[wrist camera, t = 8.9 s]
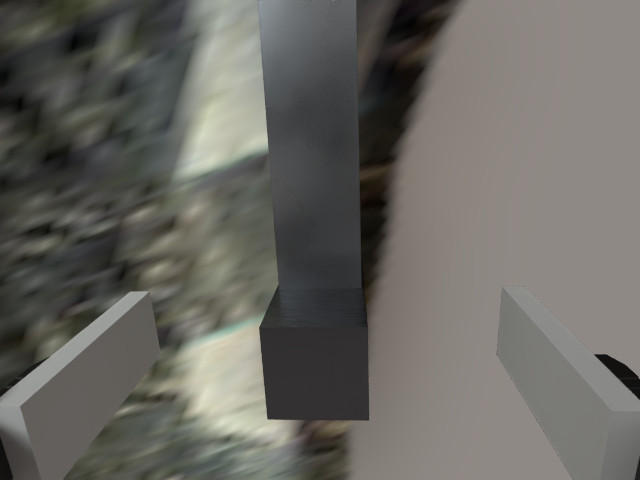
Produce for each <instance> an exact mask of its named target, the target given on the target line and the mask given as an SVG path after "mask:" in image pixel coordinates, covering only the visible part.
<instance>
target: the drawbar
mask: <svg viewBox="0 0 640 480" xmlns="http://www.w3.org/2000/svg"><path fill="white" fill-rule="evenodd" d="M258 12H259V26H260V39H261V53H262V66H263V80H264V93H265V106H266V120H267V133H268V147H269V160H270V174H271V187H272V201H273V214H274V228H275V241H276V255H277V268H278V282H279V285H278V287H277V289H276V291H275V294H274V296H273V298H272V300H271V303H270V305H269V307H268V309H267V311H266V314H265V316H264V318H263V320H262V323H261V325H260V327H259V330H260V341H261V352H262V364H263V375H264V386H265V397H266V408H267V419H276V420H369V383H368V325H367V313H366V302H365V290H364V278H363V266H362V255H361V232H360V179H359V126H358V73H357V19H356V0H258Z"/></svg>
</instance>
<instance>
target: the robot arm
mask: <svg viewBox="0 0 640 480" xmlns="http://www.w3.org/2000/svg"><path fill="white" fill-rule="evenodd" d="M160 355H161V354H160V348H159V343H158V337H157V331H156V325H155V319H154V314H153V308H152V302H151V296H150V291H149V292H130V293H128V294H127V295H126V296H125V297H123V298H122V299H121V300H120V301H118V302H117V303H116V304H115V305H114V306H112V307H111V308H110V309H109V310H107V311H106V312H105V313H104V314H102V315H101V316H100V317H99V318H97V319H96V320H95V321H94V322H92V323H91V324H90V325H89V326H88V327H86V328H85V329H84V330H83V331H81V332H80V333H79V334H78V335H76V336H75V337H74V338H73V339H71V340H70V341H69V342H68V343H67V344H65V345H64V346H63V347H62V348H60V349H59V350H58V351H57V352H55V353H54V354H53V355H52V356H50V357H48V358H46V359H44V360H42V361H40V362H38V363H36V364H35V365H33V366H31V367H30V368H28V369H27V370H26V371H25V372H23V373H22V374H21V375H20V376H18V379H15V380H13V381H12V382H11V383H9V384H8V385H7V387H6V388H3V389H2V390H1V391H0V480H62V479H63V478H64V477H65V476H66V474H67V473H68V472H69V471H70V469H71V468H72V467H73V465H74V464H75V463H76V462H77V460H78V459H79V458H80V457H81V455H82V454H83V453H84V451H85V450H86V449H87V448H88V446H89V445H90V444H91V443H92V441H93V440H94V439H95V437H96V436H97V435H98V434H99V432H100V431H101V430H102V429H103V427H104V426H105V425H106V424H107V422H108V421H109V420H110V418H111V417H112V416H113V415H114V413H115V412H116V411H117V410H118V408H119V407H120V406H121V404H122V403H123V402H124V401H125V399H126V398H127V397H128V396H129V394H130V393H131V392H132V390H133V389H134V388H135V387H136V385H137V384H138V383H139V382H140V380H141V379H142V378H143V377H144V375H145V374H146V373H147V371H148V370H149V369H150V368H151V366H152V365H153V364H154V363H155V361H156V360H157V359H158V357H159V356H160ZM497 356H498V357H499V359H500V361H501V362H502V364H503V365H504V367H505V369H506V370H507V372H508V374H509V375H510V377H511V379H512V380H513V382H514V383H515V385H516V387H517V388H518V390H519V392H520V393H521V395H522V396H523V398H524V400H525V401H526V403H527V405H528V406H529V408H530V410H531V411H532V413H533V415H534V416H535V418H536V420H537V421H538V423H539V424H540V426H541V428H542V429H543V431H544V433H545V434H546V436H547V438H548V439H549V441H550V443H551V444H552V446H553V447H554V449H555V451H556V452H557V454H558V456H559V457H560V459H561V461H562V462H563V464H564V465H565V467H566V469H567V470H568V472H569V474H570V475H571V477H572V479H573V480H640V379H639V378H638V376H637V375H636V374H635V373H634V372H633V371H632V370H630V369H629V368H628V367H627V366H626V365H625V364H623V363H621V362H619V361H617V360H615V359H614V358H612V357H610V356H608V355H606V354H603V355H598V354H595V355H594V354H592V353H591V352H590V351H589V350H588V349H587V348H586V347H585V346H584V345H583V344H582V343H581V342H580V341H579V340H578V339H577V338H576V337H575V336H574V335H573V334H572V333H571V332H570V331H569V330H568V329H567V328H566V327H565V326H564V325H563V324H562V323H561V322H560V321H559V320H558V319H557V318H556V317H555V316H554V315H553V314H552V313H551V312H550V311H549V310H548V309H547V308H546V307H545V306H544V305H543V304H542V303H541V302H540V301H539V300H538V299H537V298H536V297H535V296H534V295H533V294H532V293H531V292H530V291H529V290H528V289H527V288H526V287H525V286H502V295H501V308H500V319H499V331H498V344H497Z"/></svg>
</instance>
